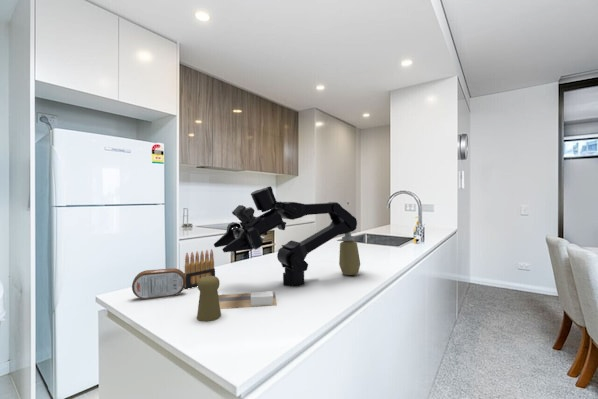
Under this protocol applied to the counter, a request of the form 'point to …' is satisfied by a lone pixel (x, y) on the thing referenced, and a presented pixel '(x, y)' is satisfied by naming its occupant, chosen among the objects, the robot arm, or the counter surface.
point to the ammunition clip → (198, 268)
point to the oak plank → (239, 301)
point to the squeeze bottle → (349, 255)
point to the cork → (208, 299)
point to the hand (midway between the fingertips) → (218, 248)
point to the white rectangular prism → (261, 298)
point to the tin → (159, 283)
